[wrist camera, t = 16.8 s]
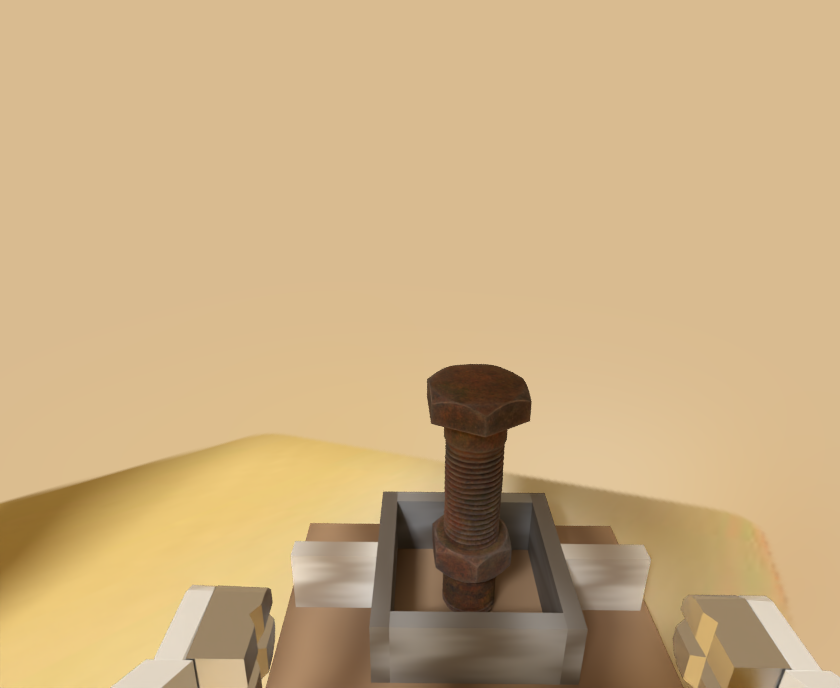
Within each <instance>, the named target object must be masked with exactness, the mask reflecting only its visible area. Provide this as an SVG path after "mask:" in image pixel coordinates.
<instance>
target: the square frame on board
mask: <svg viewBox="0 0 840 688" xmlns="http://www.w3.org/2000/svg"><path fill="white" fill-rule="evenodd" d="M444 501H445V492H383V499H382V508H381V518H380V524H330V523H310V527H309V530H308V534H307V538H306V541H295V543H294V547H293V550H292V553H291V563H292V573H293V583H294V585H293V589H292V593H291V596H290V600H289V604H288V608H287V611H286V615H285V619H284V622H283V626H282V630H281V633H280V637H279V641H278V644H277V648H276V652H275V655H274V659H273V663H272V666H271V670H270V674H269V678H268V681H267V685H266V688H683V686H682V684H681V682H680V679H679V677H678V675H677V673H676V671H675V668H674V666H673V664H672V662H671V660H670V657H669V655H668V653H667V651H666V648H665V646H664V644H663V642H662V640H661V637H660V635H659V633H658V631H657V628H656V626H655V624H654V622H653V620H652V617H651V615H650V613H649V611H648V609H647V606H646V604H645V602H644V600H643V595H644V590H645V586H646V581H647V576H648V571H649V567H650V562H651V558H650V556H649V554H648V552H647V551H646V549H645V547H644V545H619V544H618V542H617V540H616V538H615V535H614V533H613V531H612V529H611V527H610V526H555V525H554V522H553V518H552V515H551V512H550V509H549V506H548V503H547V500H546V496H545V493H501V505H500V507H501V508H500V519H501V520H503V521H504V523H505V525H506V527H507V530H508V534H509V538H510V543H511V549H512V551H511V564H510V566H509V567H507V568H506V569H505V570H504V571H503V572H502V573H501V574H499V575H498V576H496V579H495V591H494V593H495V594H494V603H493V605H490V607H491V608H490V609H489V611H487V612H453V611H452V610H450V609H449V608H448V607H447V605H446V604H445V602H444V600H443V596H442V589H443V585H442V584H443V573H442V572H441V571H439V570H438V569H437V568H436V567H435V561H434V553H433V541H432V523H434V522H435V521H436V520H437V519H438V518H440V517H441V516H442V515H444V506H445V503H444Z"/></svg>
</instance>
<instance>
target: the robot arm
mask: <svg viewBox="0 0 840 688" xmlns="http://www.w3.org/2000/svg"><path fill="white" fill-rule="evenodd" d="M271 606H272V594H271V589H269V588H260V587H238V586H205V585H192V586H191V587H190V588H189V589H188V590H187V591H186V593H185V595H184V597H183V599H182V601H181V603H180V605H179V608H178V610H177V612H176V614H175V616H174V618H173V620H172V622H171V624H170V626H169V628H168V630H167V633H166V635H165V637H164V639H163V641H162V643H161V645H160V647H159V649H158V651H157V653H156V656H155V658H154V659H146V660H144V661H143V662H142V663H141V664H139V665H138V666H137V667H135V668H134V669H133V670H132V671H130V672H129V673H128V674H127V675H125V676H124V677H123V678H122V679H120V680H119V681H118V682H117V683H115V684H114V685H113V686H112V687H110V688H262V682H261V679H262V678H263V677H264V676H265V675H266V674H267V673H268V672H269V669H270V665H271V661H272V657H273V650H274V643H275V622H274V618H273V617H272V616H271V615H270V614H269V613H270V609H271ZM681 611H682V613H683V615H684V617H685V619H684V620H683V621H682V622H680V623H679V624H678V625H677V626H676V628H675V633H674V637H673V645H674V655H675V659H676V663H677V666H678V668H679V671H680V673H681V675H682V677H683V679H684V680H685V681H686V682H687V683H689V684H690V685H691V686H692V687H693V688H840V677H839V676H837V675H836V674H834V673H833V672H831V671H823V670H822V669H821V668H820V667H819V665H818V664H817V662H816V661H815V660H814V658H813V657H812V655H811V654H810V653H809V651H808V650H807V648H806V647H805V646H804V644H803V643H802V641H801V640H800V639H799V637H798V636H797V634H796V633H795V632H794V630H793V629H792V628H791V626H790V625H789V623H788V622H787V621H786V619H785V618H784V616H783V615H782V614H781V612H780V611H779V610H778V608H777V607H776V605H775V604H774V603H773V601H772V600H771V599H769V598H768V597H766V596H736V595H688V596H687V597H686V598H685V599H684V600H683V603H682V606H681Z"/></svg>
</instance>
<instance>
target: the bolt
mask: <svg viewBox="0 0 840 688" xmlns="http://www.w3.org/2000/svg"><path fill="white" fill-rule="evenodd" d="M427 399H428V405H429V412H430V418H431V423H432V424H435V425H438V426H442V427H444V437H445V439H446V455H445V501H444V503H445V506H444V515H442V516H441V517H440V518H438V519H437V520H436V521H435V522H434V523H432V541H433V553H434V561H435V567H436V568H437V569H438V570H439V571H441V572H442V573H443V584H442V585H443V589H442V596H443V600H444V602H445V604H446V605H447V607H448V608H449V609H450V610H452V611H453V612H487V611H489V609H490V608H491V607H490V605H493V603H494V594H495V593H494V591H495V579H496V576H498V575H499V574H501V573H502V572H503V571H504V570H505V569H506V568H507V567H509V566H510V564H511V551H512V549H511V543H510V538H509V534H508V530H507V527H506V525H505V523H504V521H503V520H501V519H500V508H501V507H500V505H501V491H502V480H503V477H502V476H503V464H504V463H503V460H504V447H505V446H504V444H505V442H506V440H507V429H510V428H512V427H515V426H518V425H520V424H523V423H526V422H528V421H530V414H531V398H530V394H529V390H528V387H527V385H526V383H525V381H524V379H523V378H521V377H520V376H518V375H516V374H514V373H513V372H510V371H508V370H506V369H503V368H501V367H498V366H494V365H486V364H467V365H455V366H449V367H446V368H444V369H442V370H440V371H438V372H436V373H435V374H434V375H432V376H431V377H430V378H428V379H427Z"/></svg>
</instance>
